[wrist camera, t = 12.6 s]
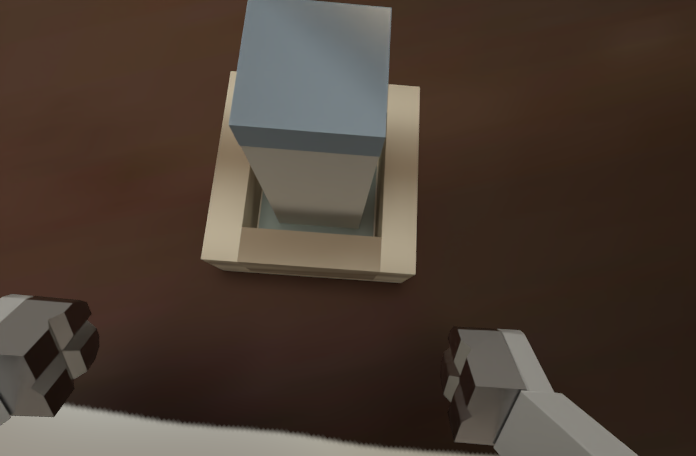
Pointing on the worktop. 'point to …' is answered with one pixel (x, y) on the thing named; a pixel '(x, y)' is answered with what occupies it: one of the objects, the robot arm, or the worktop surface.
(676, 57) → the worktop surface
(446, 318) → the worktop surface
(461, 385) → the robot arm
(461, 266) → the worktop surface
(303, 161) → the peg
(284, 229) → the holder
